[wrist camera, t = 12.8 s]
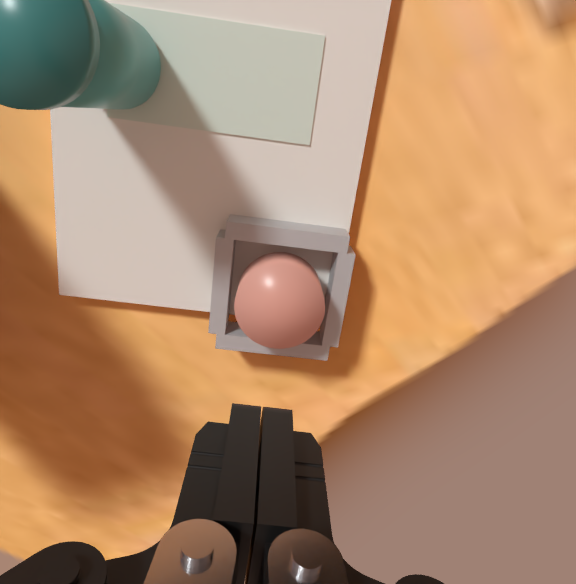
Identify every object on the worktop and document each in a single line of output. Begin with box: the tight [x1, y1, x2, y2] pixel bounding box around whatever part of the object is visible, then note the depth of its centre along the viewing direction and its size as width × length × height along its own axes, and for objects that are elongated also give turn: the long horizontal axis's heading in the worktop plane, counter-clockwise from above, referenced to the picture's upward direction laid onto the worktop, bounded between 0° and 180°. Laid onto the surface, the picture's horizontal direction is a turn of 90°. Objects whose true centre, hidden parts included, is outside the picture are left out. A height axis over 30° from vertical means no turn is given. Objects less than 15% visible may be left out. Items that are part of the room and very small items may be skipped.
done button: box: [234, 252, 325, 349], centre depth 21 cm, size 4×4×2 cm
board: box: [50, 0, 391, 361], centre depth 20 cm, size 14×19×2 cm
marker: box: [0, 0, 161, 110], centre depth 16 cm, size 4×4×8 cm
